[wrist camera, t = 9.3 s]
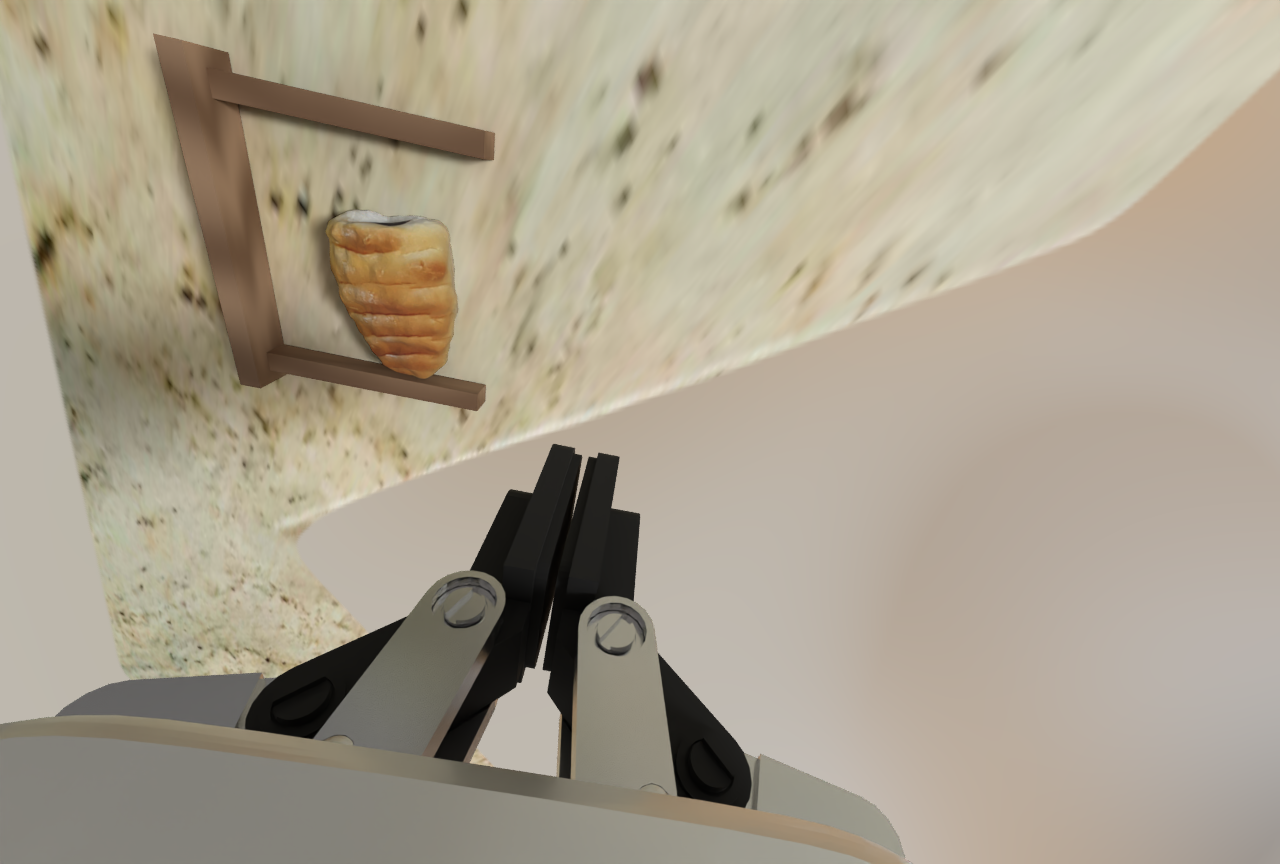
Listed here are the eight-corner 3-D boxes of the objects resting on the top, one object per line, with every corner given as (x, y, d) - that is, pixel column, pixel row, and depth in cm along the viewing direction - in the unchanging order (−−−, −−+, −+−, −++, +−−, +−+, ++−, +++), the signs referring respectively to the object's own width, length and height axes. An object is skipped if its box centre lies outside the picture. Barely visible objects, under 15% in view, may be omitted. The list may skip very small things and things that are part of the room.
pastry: (477, 370, 30) (453, 395, 27) (376, 365, 31) (340, 388, 27) (454, 212, 26) (421, 218, 22) (335, 207, 26) (286, 212, 23)
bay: (202, 46, 22) (153, 33, 20) (495, 114, 23) (477, 108, 21) (270, 369, 31) (240, 384, 29) (484, 411, 32) (471, 429, 29)
